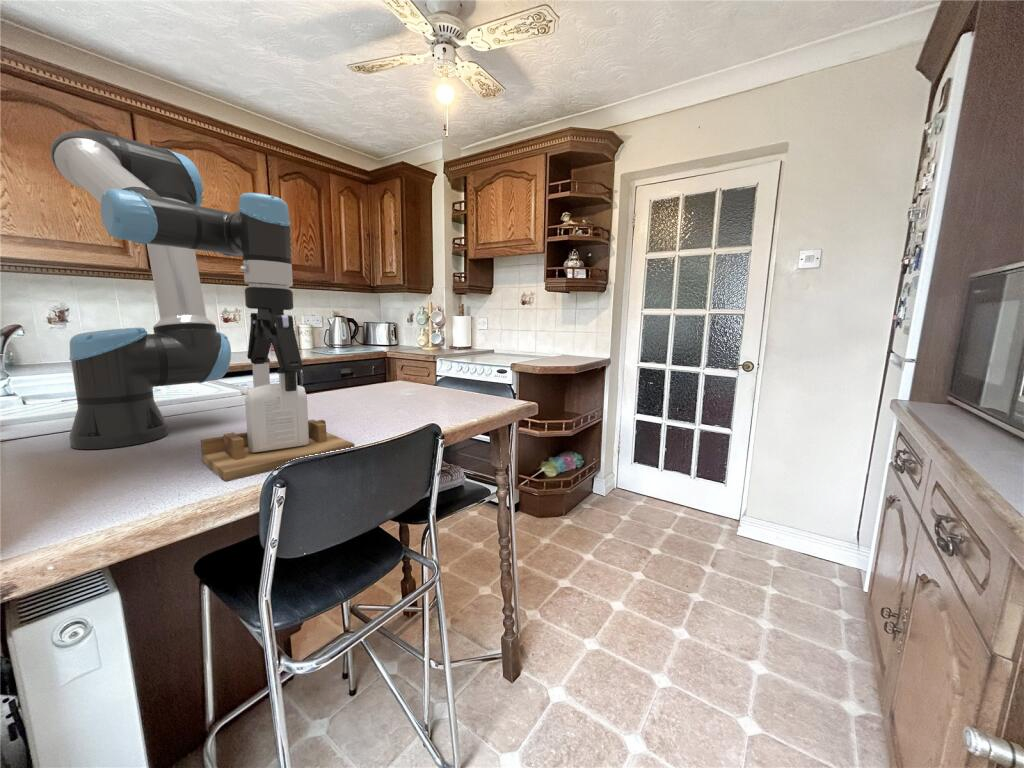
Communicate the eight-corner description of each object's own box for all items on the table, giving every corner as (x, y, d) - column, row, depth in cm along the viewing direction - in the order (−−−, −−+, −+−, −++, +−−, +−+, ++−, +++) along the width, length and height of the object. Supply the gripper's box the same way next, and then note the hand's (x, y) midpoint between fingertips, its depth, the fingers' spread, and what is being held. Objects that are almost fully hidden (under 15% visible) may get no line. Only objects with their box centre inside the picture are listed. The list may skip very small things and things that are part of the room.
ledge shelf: (202, 461, 75) (199, 434, 75) (323, 437, 92) (322, 415, 91) (225, 481, 66) (222, 451, 66) (354, 450, 83) (353, 426, 82)
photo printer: (307, 440, 84) (303, 380, 82) (312, 445, 81) (308, 383, 79) (247, 449, 78) (242, 384, 76) (250, 455, 74) (244, 387, 73)
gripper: (224, 286, 80) (231, 393, 84) (271, 284, 64) (279, 418, 67) (266, 289, 86) (272, 389, 89) (320, 288, 69) (325, 411, 73)
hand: (275, 402), depth 78 cm, fingers open, 13 cm apart
